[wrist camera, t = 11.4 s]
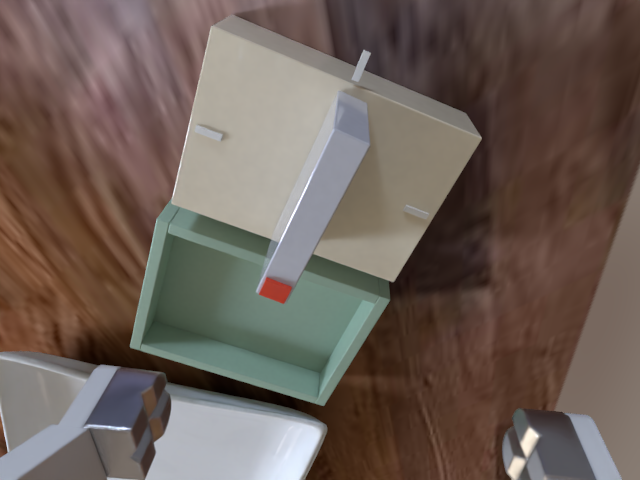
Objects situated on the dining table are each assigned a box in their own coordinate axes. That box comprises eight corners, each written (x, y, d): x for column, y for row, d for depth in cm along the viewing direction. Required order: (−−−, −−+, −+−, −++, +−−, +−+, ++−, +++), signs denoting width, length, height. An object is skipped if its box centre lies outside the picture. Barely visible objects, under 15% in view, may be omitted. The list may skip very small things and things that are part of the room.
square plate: (270, 534, 55) (264, 571, 52) (38, 487, 52) (17, 523, 49) (332, 395, 40) (330, 435, 37) (14, 321, 38) (-19, 357, 34)
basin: (388, 271, 32) (390, 299, 30) (326, 375, 39) (324, 406, 36) (173, 194, 30) (156, 218, 28) (145, 319, 37) (129, 347, 34)
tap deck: (482, 86, 25) (502, 109, 22) (379, 264, 32) (382, 303, 29) (239, -19, 23) (218, -13, 20) (186, 195, 30) (164, 227, 27)
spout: (338, 89, 22) (333, 130, 17) (368, 103, 22) (371, 147, 17) (272, 232, 27) (254, 296, 22) (298, 242, 27) (285, 308, 22)
